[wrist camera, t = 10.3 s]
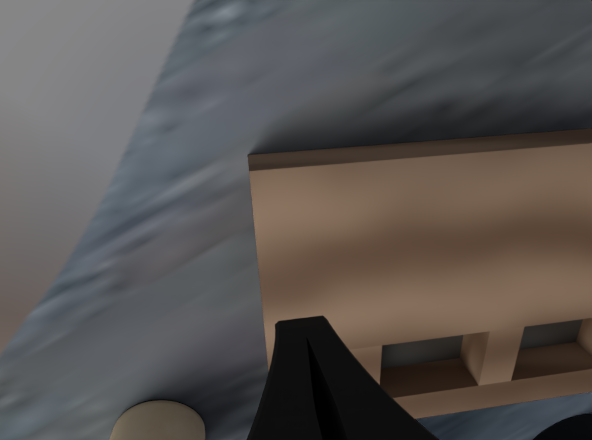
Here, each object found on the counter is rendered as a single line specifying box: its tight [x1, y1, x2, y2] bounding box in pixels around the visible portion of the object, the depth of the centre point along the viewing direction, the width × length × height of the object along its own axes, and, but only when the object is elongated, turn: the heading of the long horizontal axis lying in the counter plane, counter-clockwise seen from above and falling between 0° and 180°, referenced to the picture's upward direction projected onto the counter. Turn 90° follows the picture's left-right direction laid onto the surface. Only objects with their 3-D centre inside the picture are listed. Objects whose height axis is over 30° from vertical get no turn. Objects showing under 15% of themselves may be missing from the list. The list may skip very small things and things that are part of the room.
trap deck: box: [248, 128, 592, 419], centre depth 22 cm, size 16×28×2 cm, turn 93°
